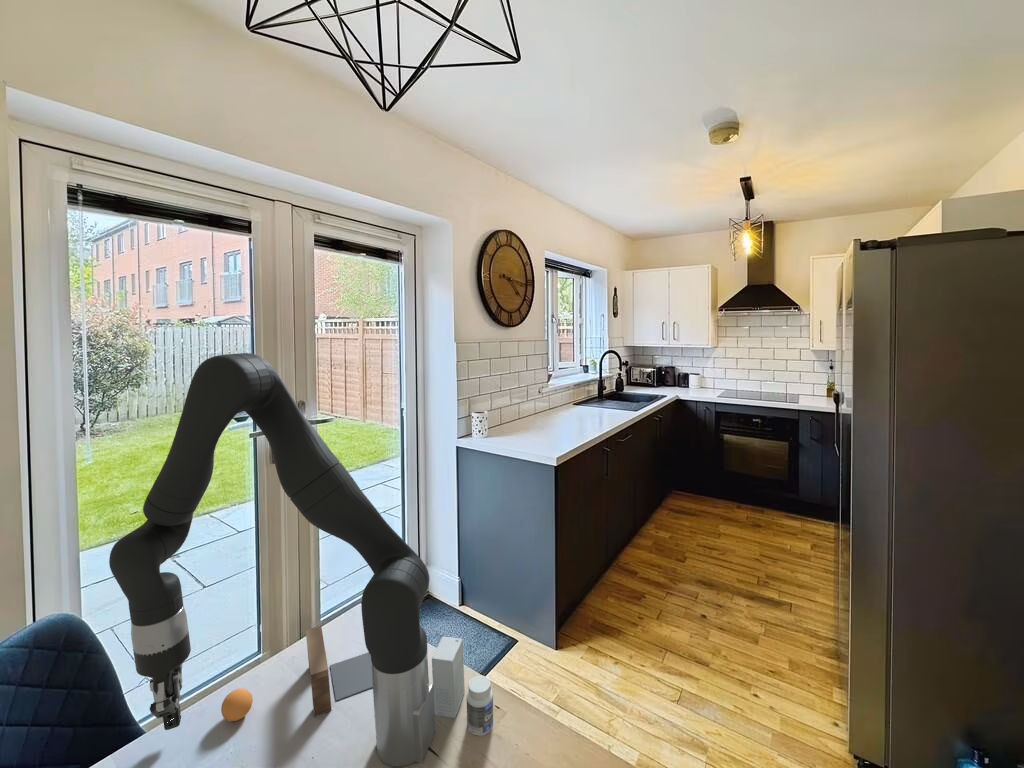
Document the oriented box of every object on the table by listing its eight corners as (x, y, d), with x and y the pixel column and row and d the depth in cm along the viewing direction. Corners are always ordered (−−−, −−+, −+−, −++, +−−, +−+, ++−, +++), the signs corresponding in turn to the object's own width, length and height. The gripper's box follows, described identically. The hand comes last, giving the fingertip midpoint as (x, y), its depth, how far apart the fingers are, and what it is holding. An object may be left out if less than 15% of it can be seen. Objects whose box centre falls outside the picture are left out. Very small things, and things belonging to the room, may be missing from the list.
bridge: (314, 716, 85) (310, 675, 84) (309, 667, 97) (305, 630, 96) (331, 710, 86) (328, 669, 85) (324, 662, 98) (321, 625, 97)
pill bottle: (489, 738, 80) (489, 696, 79) (464, 734, 81) (462, 692, 80) (496, 715, 85) (495, 675, 84) (471, 711, 86) (470, 671, 85)
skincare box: (444, 689, 91) (442, 635, 89) (465, 692, 90) (463, 638, 88) (433, 715, 85) (430, 658, 83) (455, 719, 84) (453, 661, 82)
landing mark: (336, 701, 88) (335, 700, 88) (330, 666, 97) (330, 665, 97) (388, 681, 93) (388, 680, 93) (378, 649, 102) (378, 649, 102)
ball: (260, 707, 87) (257, 684, 86) (239, 730, 82) (236, 706, 82) (237, 702, 88) (235, 679, 87) (216, 725, 83) (212, 701, 83)
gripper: (181, 654, 74) (193, 747, 77) (193, 607, 85) (203, 689, 88) (121, 671, 70) (136, 767, 73) (143, 620, 82) (155, 704, 85)
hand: (173, 724), depth 81 cm, fingers closed
